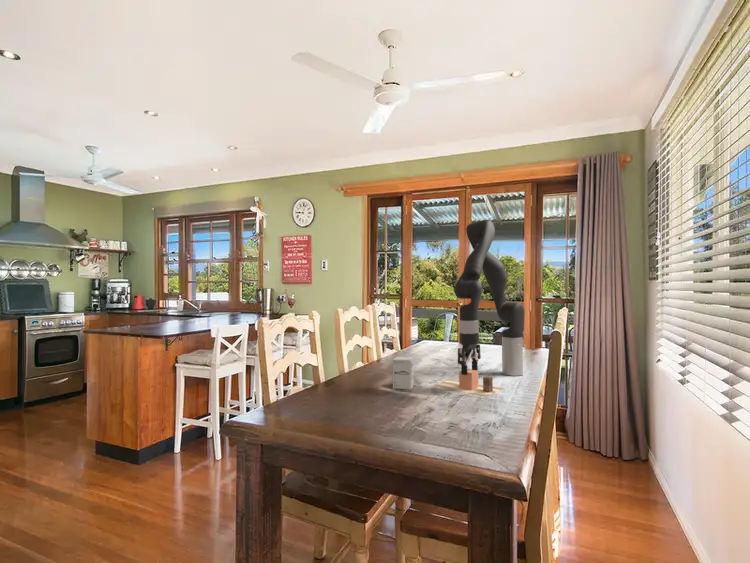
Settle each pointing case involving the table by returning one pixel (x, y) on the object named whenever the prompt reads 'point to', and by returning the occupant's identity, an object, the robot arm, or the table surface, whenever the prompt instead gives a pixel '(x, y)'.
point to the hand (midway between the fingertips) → (469, 372)
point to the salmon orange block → (468, 380)
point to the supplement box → (402, 373)
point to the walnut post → (488, 384)
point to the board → (455, 387)
